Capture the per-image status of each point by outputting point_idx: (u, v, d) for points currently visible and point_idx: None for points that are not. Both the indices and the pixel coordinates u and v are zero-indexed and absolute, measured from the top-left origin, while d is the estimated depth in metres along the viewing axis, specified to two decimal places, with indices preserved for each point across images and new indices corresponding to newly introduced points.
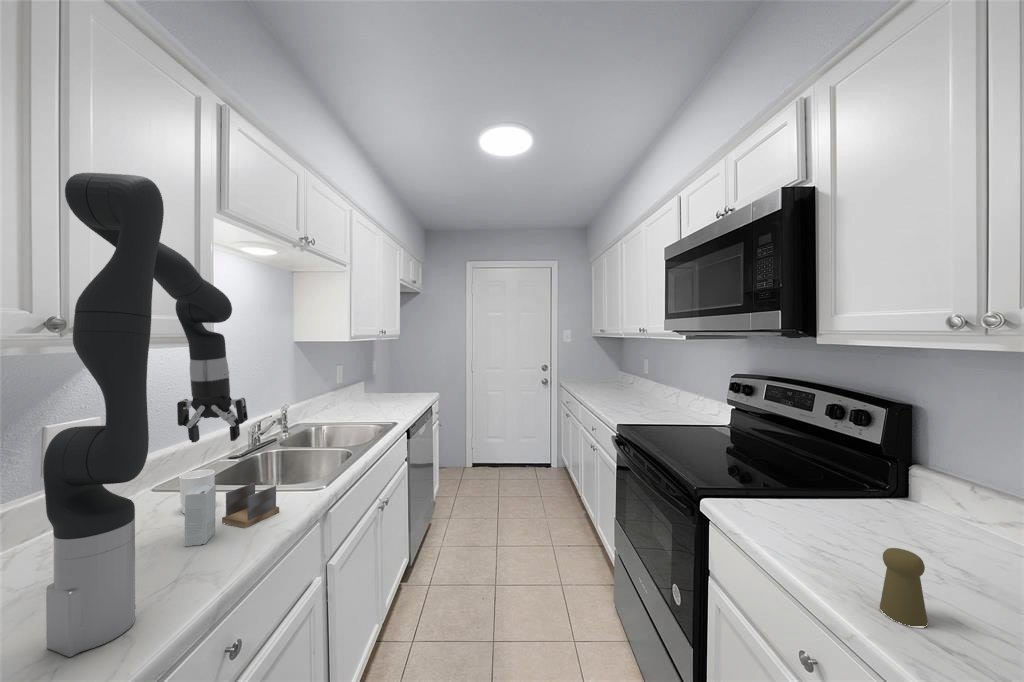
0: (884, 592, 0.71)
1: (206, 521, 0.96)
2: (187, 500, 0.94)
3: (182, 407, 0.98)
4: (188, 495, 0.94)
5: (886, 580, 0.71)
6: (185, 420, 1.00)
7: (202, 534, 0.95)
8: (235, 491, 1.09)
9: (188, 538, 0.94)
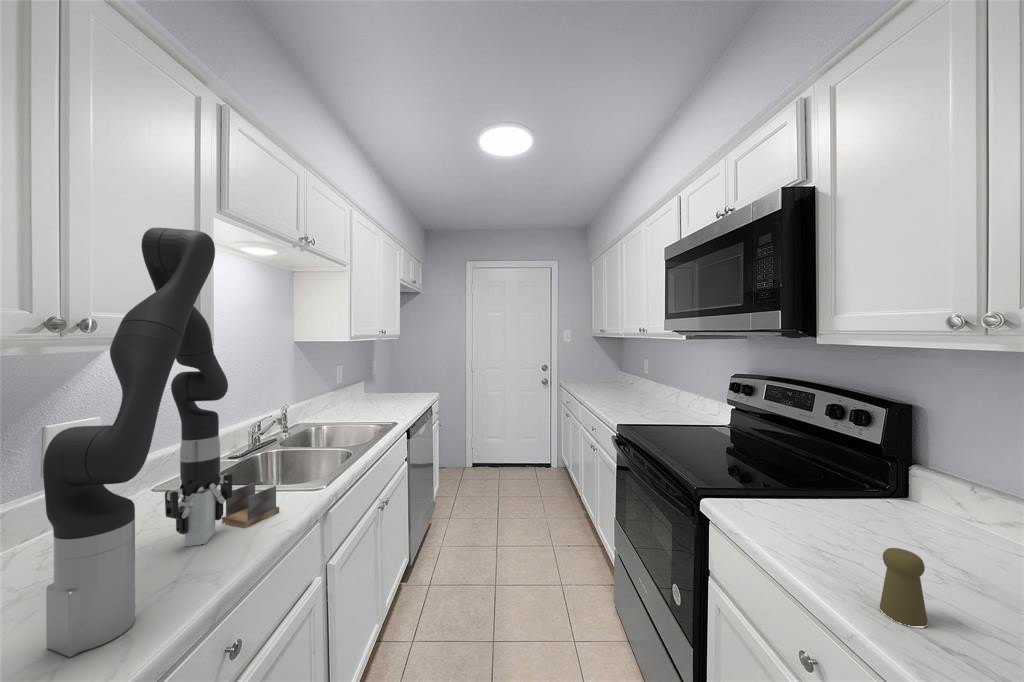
0: (884, 592, 0.71)
1: (206, 521, 0.96)
2: (187, 500, 0.94)
3: (177, 497, 0.91)
4: None
5: (886, 580, 0.71)
6: None
7: (202, 534, 0.95)
8: (235, 491, 1.09)
9: (188, 538, 0.94)
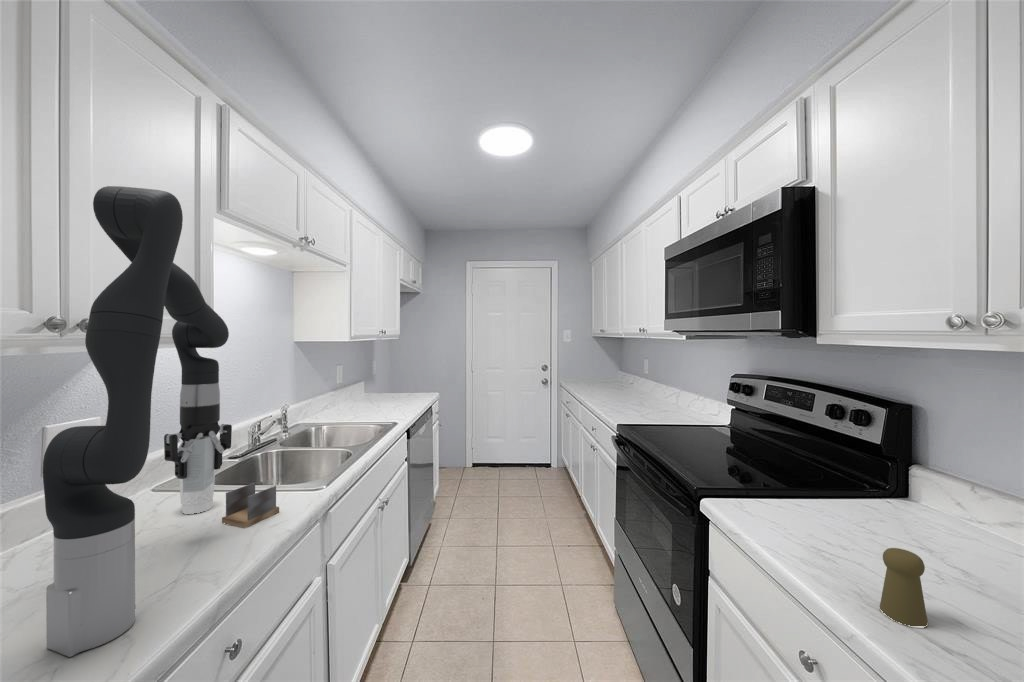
0: (884, 592, 0.71)
1: (205, 467, 0.95)
2: (186, 445, 0.94)
3: (176, 440, 0.91)
4: None
5: (886, 580, 0.71)
6: None
7: (201, 480, 0.95)
8: (235, 491, 1.09)
9: (187, 484, 0.94)
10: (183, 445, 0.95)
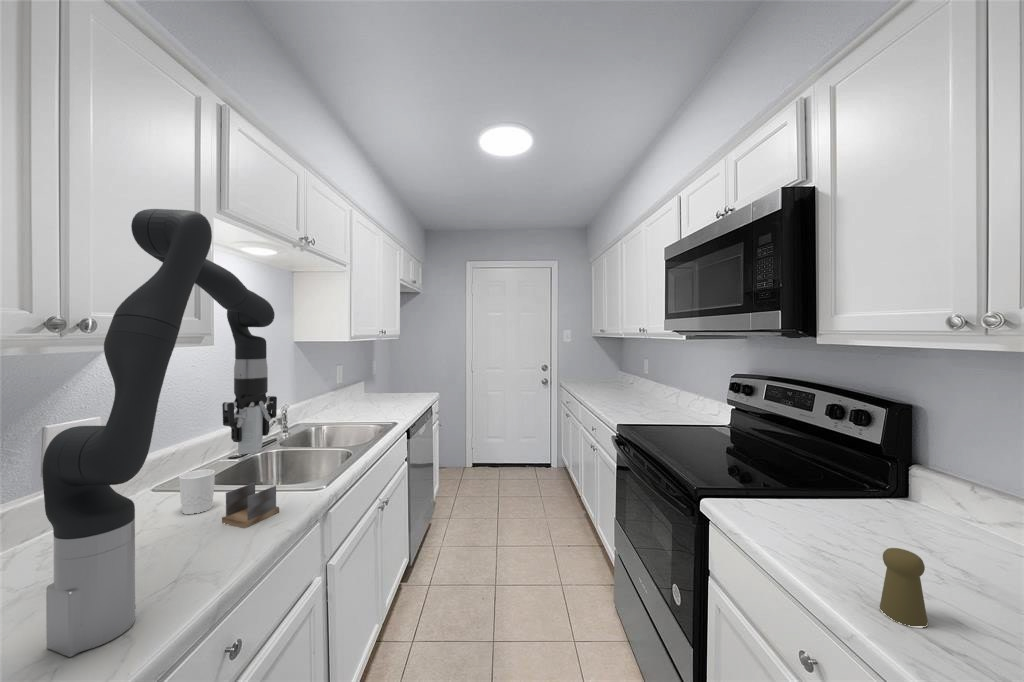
0: (884, 592, 0.71)
1: (257, 432, 1.08)
2: (240, 412, 1.06)
3: (233, 407, 1.04)
4: None
5: (886, 580, 0.71)
6: None
7: (253, 443, 1.07)
8: (235, 491, 1.09)
9: (241, 446, 1.06)
10: (237, 413, 1.07)
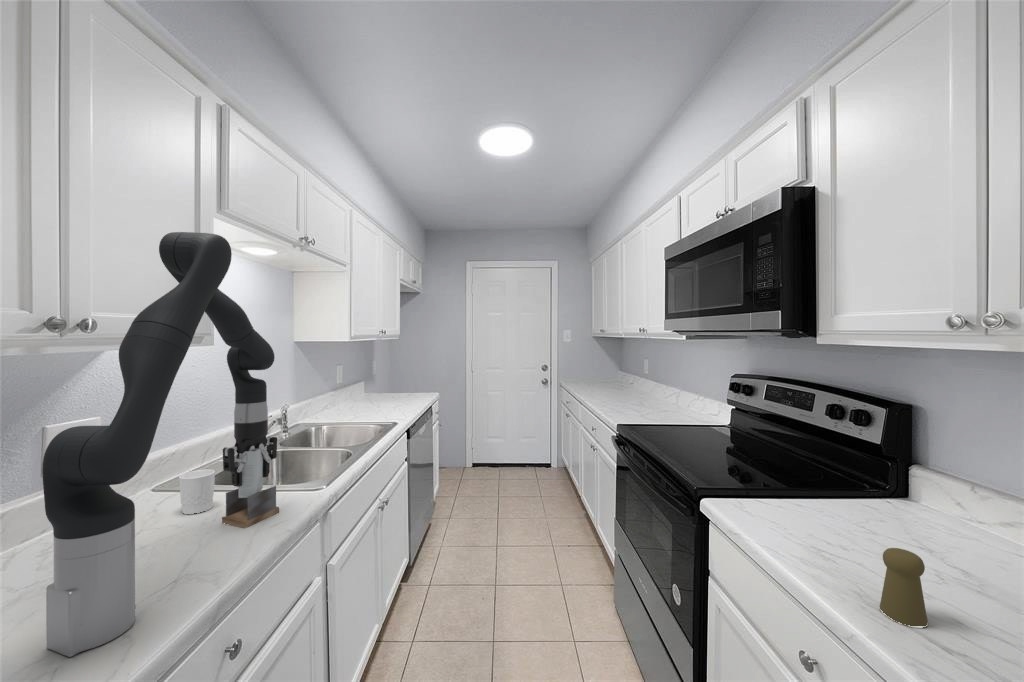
0: (884, 592, 0.71)
1: (257, 476, 1.08)
2: (241, 457, 1.06)
3: (233, 453, 1.04)
4: None
5: (886, 580, 0.71)
6: None
7: (253, 487, 1.07)
8: (235, 491, 1.09)
9: (241, 490, 1.06)
10: (237, 457, 1.07)
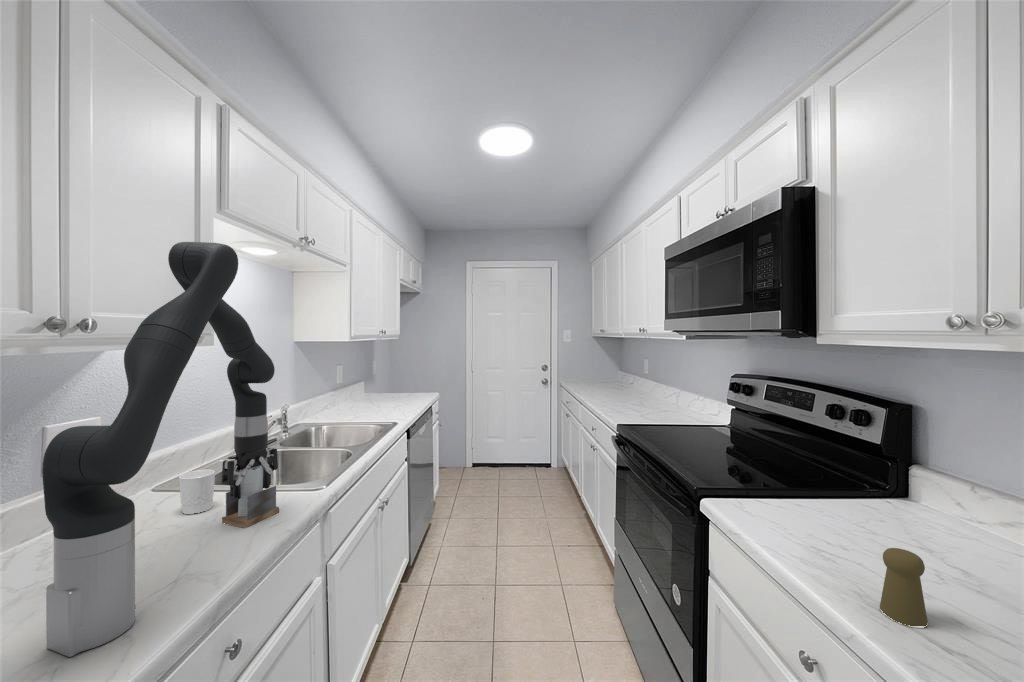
0: (884, 592, 0.71)
1: None
2: None
3: (233, 466, 1.04)
4: None
5: (886, 580, 0.71)
6: None
7: None
8: None
9: (241, 509, 1.06)
10: (237, 470, 1.07)
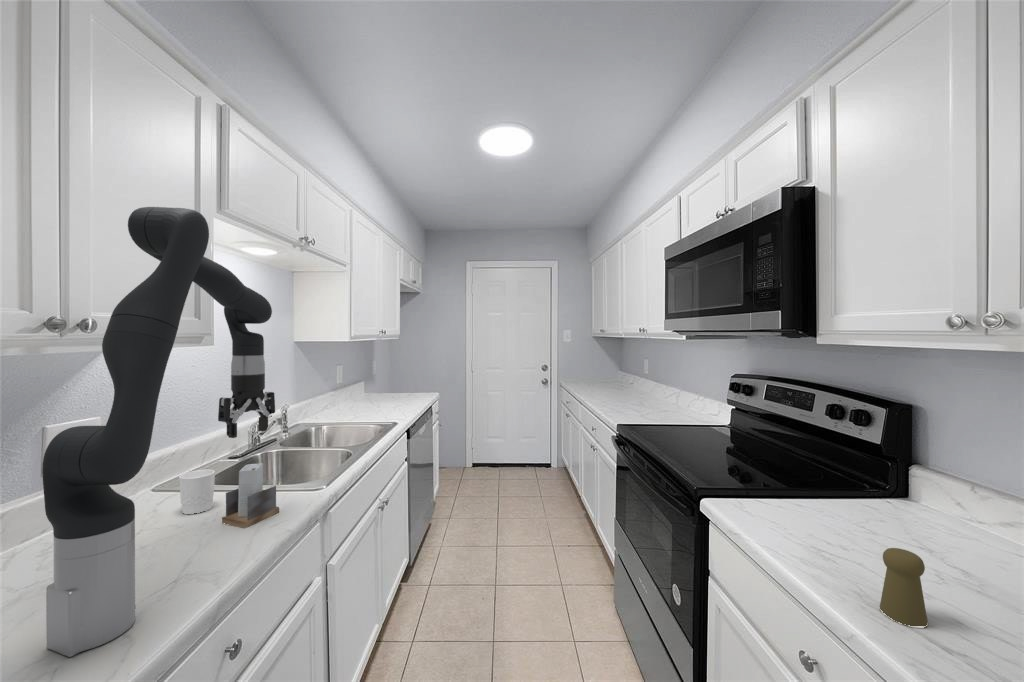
0: (884, 592, 0.71)
1: None
2: (240, 476, 1.06)
3: (230, 403, 1.03)
4: (241, 471, 1.06)
5: (886, 580, 0.71)
6: None
7: None
8: (235, 491, 1.09)
9: (241, 509, 1.06)
10: (234, 409, 1.07)
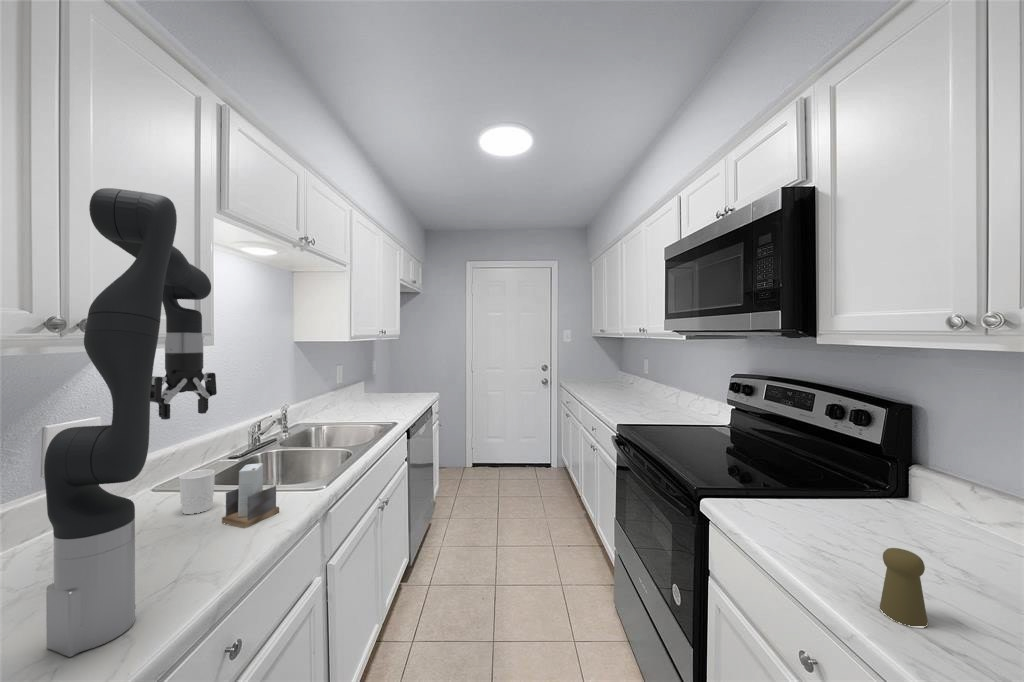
0: (884, 592, 0.71)
1: None
2: (240, 476, 1.06)
3: (161, 382, 0.97)
4: (241, 471, 1.06)
5: (886, 580, 0.71)
6: None
7: None
8: (235, 491, 1.09)
9: (241, 509, 1.06)
10: (168, 389, 1.01)
